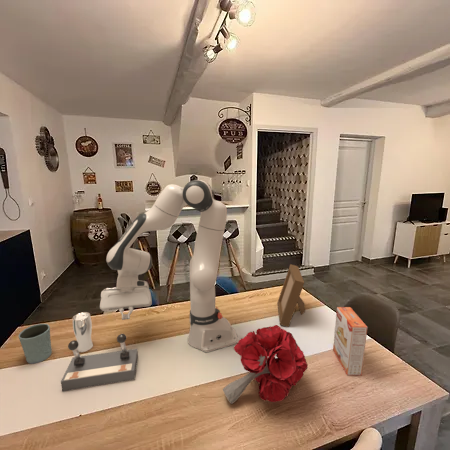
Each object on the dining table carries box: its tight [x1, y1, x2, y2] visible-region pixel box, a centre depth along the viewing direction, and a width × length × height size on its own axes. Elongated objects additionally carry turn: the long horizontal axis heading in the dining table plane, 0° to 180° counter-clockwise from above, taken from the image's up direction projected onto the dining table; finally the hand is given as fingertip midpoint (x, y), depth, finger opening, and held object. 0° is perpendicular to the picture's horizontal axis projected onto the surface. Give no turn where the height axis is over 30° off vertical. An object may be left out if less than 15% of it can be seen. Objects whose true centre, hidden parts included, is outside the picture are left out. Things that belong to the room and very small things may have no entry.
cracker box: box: [332, 306, 369, 376], centre depth 101 cm, size 14×6×21 cm, turn 178°
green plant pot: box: [18, 323, 53, 365], centre depth 105 cm, size 10×10×12 cm
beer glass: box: [72, 311, 94, 353], centre depth 110 cm, size 7×7×15 cm
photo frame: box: [277, 263, 306, 328], centre depth 134 cm, size 15×22×25 cm
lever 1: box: [67, 339, 85, 366], centre depth 93 cm, size 3×3×13 cm
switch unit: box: [60, 348, 139, 392], centre depth 97 cm, size 24×12×4 cm, turn 103°
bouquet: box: [222, 324, 309, 405], centre depth 88 cm, size 22×24×30 cm
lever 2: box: [116, 333, 130, 359], centre depth 97 cm, size 3×3×13 cm
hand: (125, 319), depth 104 cm, fingers closed
